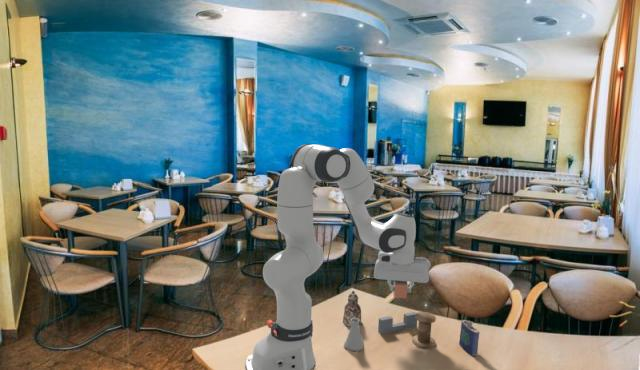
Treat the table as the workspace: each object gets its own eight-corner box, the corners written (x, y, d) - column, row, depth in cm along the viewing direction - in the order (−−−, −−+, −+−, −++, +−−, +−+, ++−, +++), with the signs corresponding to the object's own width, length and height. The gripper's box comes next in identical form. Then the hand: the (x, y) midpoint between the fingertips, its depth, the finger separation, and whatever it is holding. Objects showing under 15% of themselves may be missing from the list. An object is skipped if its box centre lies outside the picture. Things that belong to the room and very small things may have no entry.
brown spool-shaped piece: (420, 350, 144) (422, 323, 143) (408, 338, 152) (409, 313, 150) (439, 346, 147) (441, 319, 146) (426, 335, 155) (428, 309, 153)
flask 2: (478, 356, 142) (481, 327, 140) (471, 357, 141) (473, 328, 139) (463, 342, 150) (466, 314, 149) (456, 343, 150) (458, 315, 148)
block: (394, 297, 155) (395, 282, 154) (393, 294, 158) (393, 279, 157) (406, 298, 155) (407, 282, 154) (404, 294, 158) (405, 279, 157)
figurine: (341, 325, 161) (342, 295, 159) (344, 316, 167) (345, 288, 165) (359, 327, 159) (361, 298, 157) (362, 319, 166) (363, 290, 164)
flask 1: (340, 348, 144) (341, 321, 143) (348, 338, 151) (349, 313, 149) (359, 354, 141) (360, 327, 140) (367, 344, 148) (368, 318, 146)
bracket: (380, 334, 154) (381, 320, 154) (378, 331, 156) (378, 318, 155) (416, 327, 160) (417, 313, 159) (414, 325, 162) (415, 311, 161)
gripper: (430, 255, 155) (427, 290, 157) (375, 251, 158) (373, 285, 160) (431, 260, 149) (429, 297, 151) (374, 256, 152) (372, 292, 154)
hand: (400, 291), depth 156 cm, fingers closed on block, 5 cm apart
